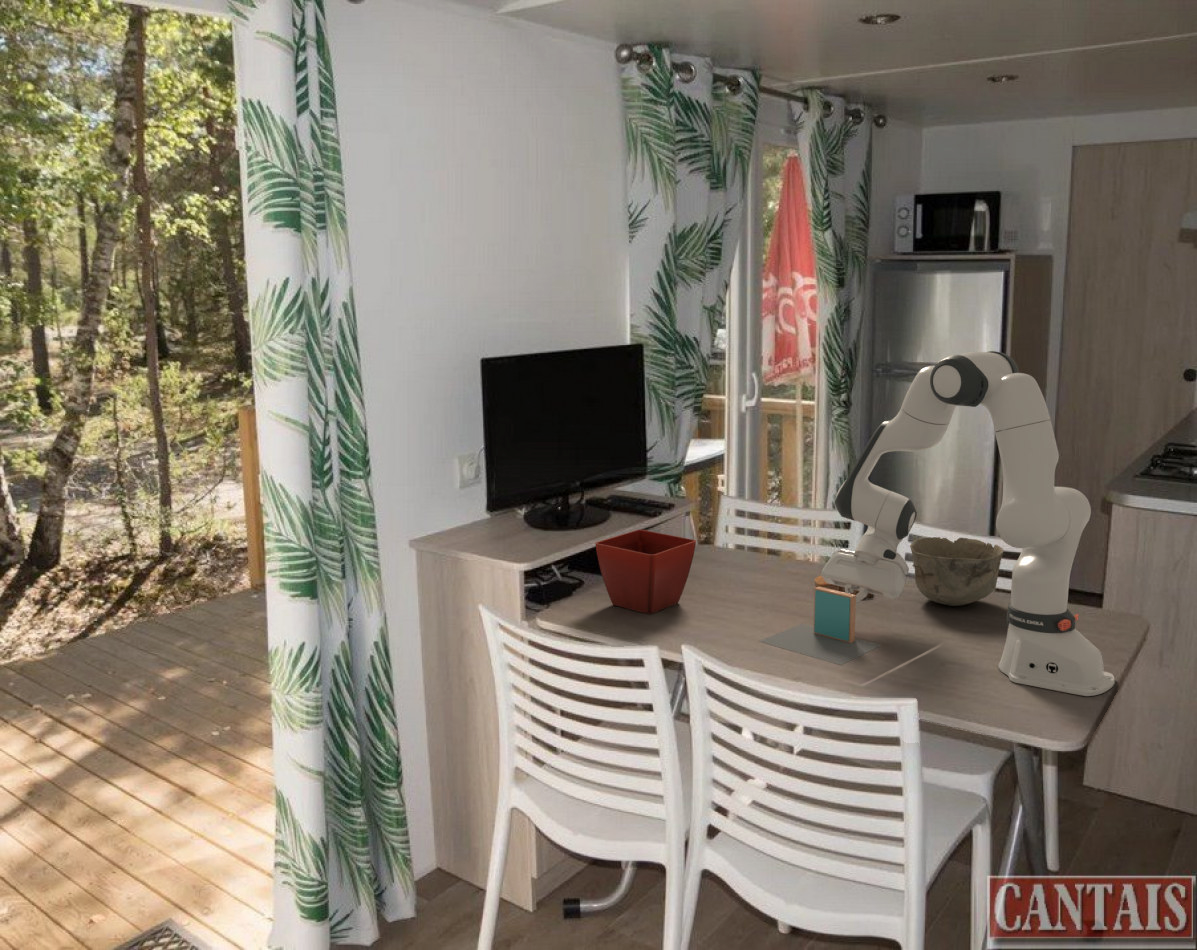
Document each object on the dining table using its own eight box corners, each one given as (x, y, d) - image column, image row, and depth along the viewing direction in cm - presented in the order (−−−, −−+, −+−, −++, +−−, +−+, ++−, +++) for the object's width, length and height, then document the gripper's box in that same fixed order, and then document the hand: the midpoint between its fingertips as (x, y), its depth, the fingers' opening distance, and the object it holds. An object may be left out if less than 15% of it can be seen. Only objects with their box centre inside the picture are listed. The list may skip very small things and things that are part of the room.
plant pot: (697, 602, 278) (698, 539, 275) (653, 621, 264) (652, 554, 261) (639, 589, 290) (639, 528, 287) (594, 606, 276) (593, 543, 273)
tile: (854, 641, 246) (856, 595, 244) (849, 643, 245) (851, 597, 243) (817, 631, 253) (818, 586, 251) (812, 633, 252) (813, 588, 250)
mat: (882, 647, 243) (882, 645, 243) (840, 667, 232) (840, 664, 231) (801, 625, 259) (801, 623, 259) (758, 643, 247) (758, 641, 247)
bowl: (1016, 605, 271) (1020, 548, 268) (962, 622, 259) (965, 562, 256) (944, 585, 289) (947, 531, 286) (890, 600, 277) (892, 544, 274)
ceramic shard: (816, 561, 296) (871, 571, 293) (812, 584, 296) (867, 594, 294) (817, 569, 281) (875, 579, 279) (813, 593, 282) (871, 604, 279)
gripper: (831, 540, 263) (807, 587, 258) (906, 556, 248) (882, 606, 243) (840, 554, 267) (817, 601, 262) (915, 571, 252) (891, 620, 247)
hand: (849, 604), depth 252 cm, fingers closed
